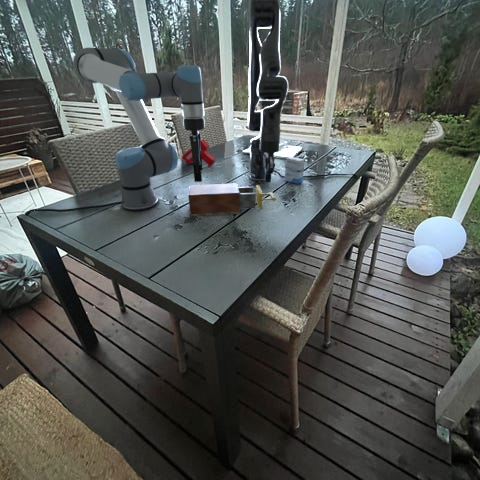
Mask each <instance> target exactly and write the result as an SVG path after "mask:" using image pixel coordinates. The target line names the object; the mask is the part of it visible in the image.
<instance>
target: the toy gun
mask: <svg viewBox="0 0 480 480" xmlns="http://www.w3.org/2000/svg"><path fill="white" fill-rule="evenodd" d="M200 147H201V150H202V151H203V153H200V154H201V158H202V161H204V162H205V163H206V164H207V165H208V167H210V166H212V165H214V164H215V163H216V162H215V161H216V158H215V156H213V155H212V154H210V153H209V152H208V149H209V148H210V145H209V144H208V142H207V141H206V140H205V139H204V138H201V143H200ZM181 158H182V159H183V161H184V162H185V164H186V165H189V164H190V165H191V163H192V162H193V161H192V147H190V149H188V150H187V151H186V152H185V153H184V154H183V155H181Z"/></svg>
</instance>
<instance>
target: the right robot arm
mask: <svg viewBox="0 0 480 480" xmlns="http://www.w3.org/2000/svg"><path fill="white" fill-rule="evenodd" d="M248 25H249V26H248V27H249V31H248V33H249V64H248V65H249V67H248V96H249V97H248V113H247V128H248V130H249V131H250V132H253V133H254V132H256V133H257V132H259V135H258V136H256V137H254V138H251V139H250V146H251V148H250V154H249V157H250V158H249V160H250V161H249V165H250V166H249V167H250V168H249V178H250V180H253V181H256V182H257V181H264V182H265V183H266V184H267V183H271V182H272V174H274V173H275V174H277V175H278V176H279V177H280V178H283V179H285V175H282V174H281V173H280V172H279V171H277V170H276V169H275V167H276V163H275V160H276V157H275V156H274V153H275V152H278V151H279V145H280V144H281V143H280V142H281V120H282V110H283V108H284V107H283V106H284V103H285V101H286V98H287V95H288V90H289V81H288V79H287V77H285V76H281V75H279V74H280V73H281V69H282V66H281V53H280V35H281V33H280V31H281V29H280V28H281V3H280V0H249V3H248ZM259 29H270V31H269V32H268V35H267V36H266V38H265V39H264V41H263V43H261V40H260V38H259V32H258V30H259ZM260 100H263V101H275V102H274V104H272V105H270V106H266V107H264V108H262V109H261V110H257V111H256V109H257V107H258V104H259V103H260ZM327 174H328V175H323V174H316V175H317V176H312V175H303V179H304V178H319V177H328V176H348V175H351V176H354V177H357V174H355V175H353V174H337V173H327Z"/></svg>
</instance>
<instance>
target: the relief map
mask: <svg viewBox="0 0 480 480" xmlns="http://www.w3.org/2000/svg"><path fill="white" fill-rule="evenodd" d="M302 147H303V146H294V145H292V144H290V143H289V142H288V141H284V142H282V143H280V145H279V151H278V152H275V153H274V156H275V158H277V159H285V160H286V159H287V158H289V157H296V156H297V155H298V154H299V153H300V152H302V151H303V150H304V148H303V149H302ZM250 148H251V145H250V146H249V147H248V148H247V149H245V150H242V153H243V154H247V155H248V154H249V155H250ZM296 153H297V154H296Z"/></svg>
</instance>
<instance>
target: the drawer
mask: <svg viewBox="0 0 480 480" xmlns="http://www.w3.org/2000/svg"><path fill="white" fill-rule="evenodd" d="M238 189H239V194H240V210H250V209H251V210H253V209H256V205H257V208H258V210H259V211H261V210H263V201H273V202H275V201H276V200H277V199H276V197H275V195H274V193H273V192H272V191H270V192H265V193H263V191H262V188H261V186H260V184H256V185H255V192H254V186H238ZM264 196H270V197H269V198H268V197H266V198H263V197H264Z"/></svg>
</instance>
